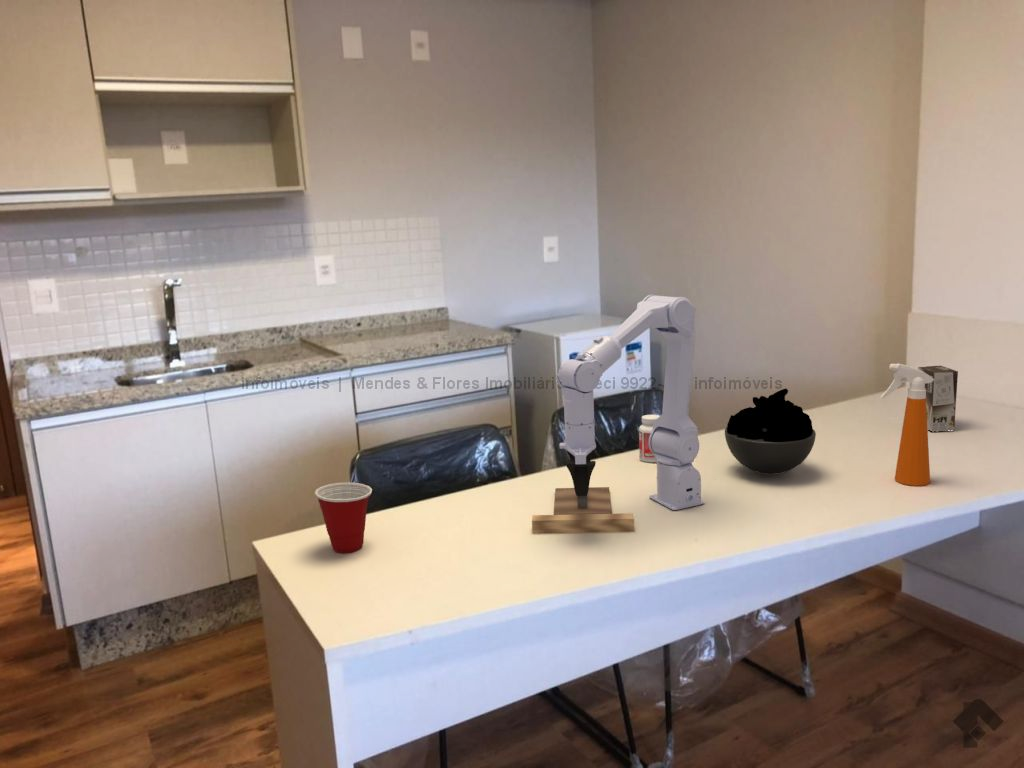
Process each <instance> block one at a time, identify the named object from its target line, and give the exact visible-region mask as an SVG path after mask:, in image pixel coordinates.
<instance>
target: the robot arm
mask: <svg viewBox="0 0 1024 768" xmlns="http://www.w3.org/2000/svg"><path fill="white" fill-rule="evenodd" d="M695 319H696V307H695V306H694V304H693V303H692V302H691V301H690V300H689V299H688V298H687V297H684V296H678V297H677V296H666V295H657V294H648V295H646V296H645V297H644V298H643V299H642V300H640V301H639V302H637V305H636V309H635V311H633V312H632V313H631V315H629V317H627V318H626V319H625V320H624V321H623V322H622V324H620V325H619V326H618V327H617V329H615V331H613V332H612V333H611V334H610V335H600V336H596V337H595V338H593V342H592V343H591V344H590V345H589V346H587V347H586V348H585V349H584V350H582V351H579V352H578V353H577V354H576V357H575V358H571V359H570V358H569V359H567V360H565V361H564V362H563V363H562V364H561V365H560V367H559V369H558V371H557V372H558V373H557V374H556V375H555V377H556V382H557V384H558V385H559V386H560V388H561V395H562V397H563V413H564V417H563V419H564V436H565V437H564V440H565V441H564V442H560V443H559V449H560V450H563V449H564V450H565V451H566V452H567V454H568V456H569V458H570V459H566V460H565V466H566V468H567V470H568V471H569V473H570V476H571V480H572V483H573V488H574V489H575V493H576V496H587V494H588V490H589V488H590V481H591V476H592V473H593V471H594V469H595V467H596V460H592V458H593V457H592V456H593V454H594V452H595V450H596V448H597V443H596V435H595V405H594V404H595V403H594V399H595V398H594V390H595V389H597V387H598V385H599V382H600V380H601V377H602V376H603V374H604V373H605V372H607V370H609V369H610V368H611V367H612V366H613V365H614V364H615V363H616V362H618V361H619V360H620V359H621V357H622V352H623V351H622V350H623V349H624V348H625V347H627V346H628V345H629V344H630V343H631V342H633V341H634V340H636V339H637V338H638V337H639V336H640V335H642V334H644V333H645V332H646V331H647V330H649V329H654V330H656V331H658V332H659V333H660V334H661V335H662V336H663V337H664V339H666V342H667V346H666V360H665V361H666V362H665V373H664V386H663V399H662V410H661V414H660V415H659V416H660V417H658V418H657V419H656V420H655V421H654V422H653V429H652V432H651V434H650V437H649V448H650V450H651V452H653V453H654V458H655V459H657V462H656V492H657V493H654V494H650V495H649V496H648V497H649V498H650V500H653V501H655V502H657V503H659V504H661V505H662V506H664V507H666V508H668V509H670V510H672V511H677V510H683V509H688V508H691V507H694V506H695V507H696V506H700V505H704V504H705V501H704V500H702V477H701V474H700V471H699V470H698V469H697V468H696V467H695V466H694V465H693V463H694V462H695V459H696V458H697V457H698V454H699V451H700V442H699V437H698V436H699V435H698V431H699V428H698V427H697V425H696V424H695V422H693V420H692V419H691V418H690V416H689V413H690V401H691V391H692V390H691V389H692V379H693V378H692V375H693V366H694V353H695V342H696V341H695V340H696V330H695Z"/></svg>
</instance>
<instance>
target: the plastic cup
mask: <svg viewBox="0 0 1024 768" xmlns="http://www.w3.org/2000/svg"><path fill="white" fill-rule="evenodd" d="M372 491H373V489H372V488H371V486H369V485H366V484H364V483H357V482H336V483H329V484H326V485H322V486H320V487H318V488H316V489H315V491H314V496H315V497H316V498H317V500H318V503H319V508H320V510H321V514H322V516H323V520H324V524H325V528H326V532H327V535H328V536H329V541H330V544H331V547H332V550H333V551H334V552H335V553H338V554H350V553H355V552H357V551H359V550H361V549H363V545H364V539H365V531H366V530H365V529H366V522H367V521H366V518H367V510H368V503H369V498H370V496H371V495H372Z"/></svg>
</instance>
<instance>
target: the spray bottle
mask: <svg viewBox="0 0 1024 768" xmlns="http://www.w3.org/2000/svg"><path fill="white" fill-rule="evenodd" d="M889 370H890V371H894V373H893V380H892V382H891V383H890V385H889V386H888V387H887V389H886V390H885V392H884V393H883V394H882V395H880V396H879V397H880V399H881V400H882V399H883V398H885V397H887V396H889V395H891V394H892V393H893V392H895V391H896V390H897V389H898V387H900V386H902V385H903V384H904V383H907V382H908V383H909V387H908V388H907V397H906V402H905V403H906V404H905V410H904V415H903V422H902V428H901V436H900V442H899V448H898V455H897V461H896V468H895V475H894V480H895V482H897V483H898V482H899V483H898V484H901V485H903V486H909V485H910V486H912V487H922V486H927V485H929V484H930V483H931V470H930V469H931V468H930V455H929V454H930V452H929V448H930V447H929V433H928V432H929V431H928V429H927V410H926V389H925V383H930V382H932V381H934V379H933V378H932V377H930V376H929V375H928V374H926V373H924V372H923V371H920V370H918V369H917V368H915V367H912V366H910V365H906V364H901V363H890V364H889ZM910 486H909V487H910Z"/></svg>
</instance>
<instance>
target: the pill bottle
mask: <svg viewBox="0 0 1024 768" xmlns="http://www.w3.org/2000/svg"><path fill="white" fill-rule="evenodd" d="M660 416H661V415H658V414H645V415H642V416H641V423H642V424H641V425H640V426H639V427H638V438H639V440H638V442H639V443H638V444H639V446H638V447H639V448H638V449H639V459H640V461H642V462H644V463H657V459H655V458H654V453H653V452H651V450H650V448H649V437H650V434H651V432H652V429H653V422H654V421H655V420H656V419H657V418H658V417H660Z"/></svg>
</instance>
